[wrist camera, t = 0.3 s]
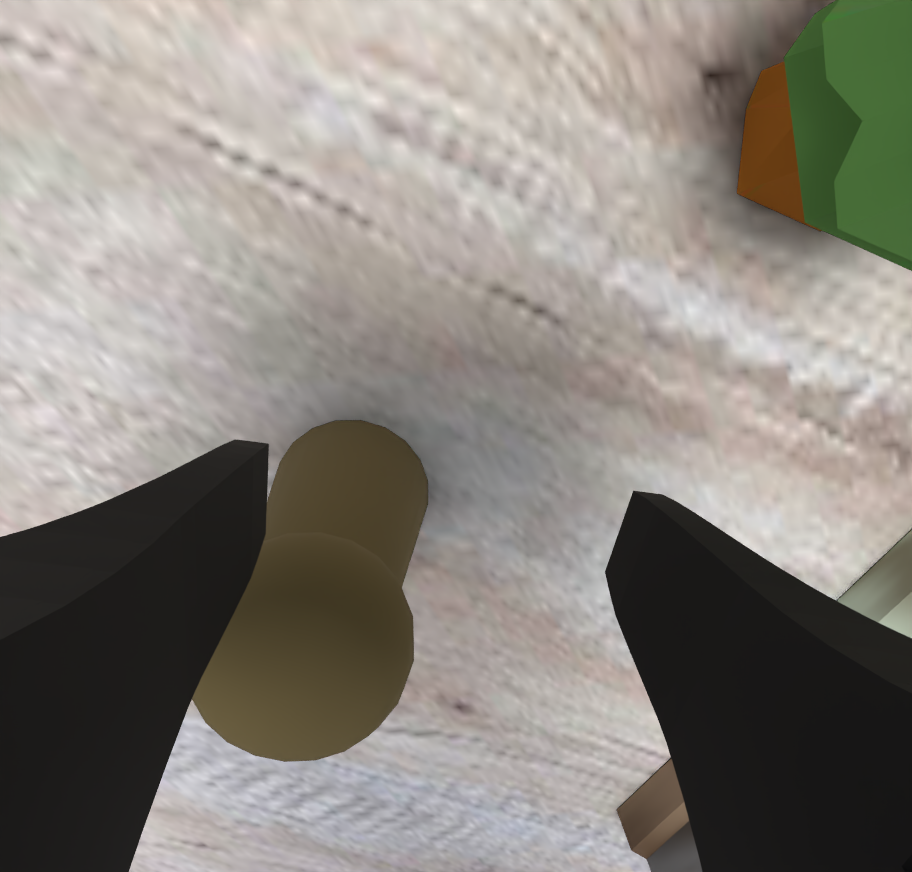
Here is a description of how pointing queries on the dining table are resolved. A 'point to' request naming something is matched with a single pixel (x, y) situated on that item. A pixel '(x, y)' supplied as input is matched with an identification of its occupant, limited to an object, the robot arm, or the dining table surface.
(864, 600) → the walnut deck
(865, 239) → the decorative tree
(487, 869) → the dining table surface
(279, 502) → the cork
